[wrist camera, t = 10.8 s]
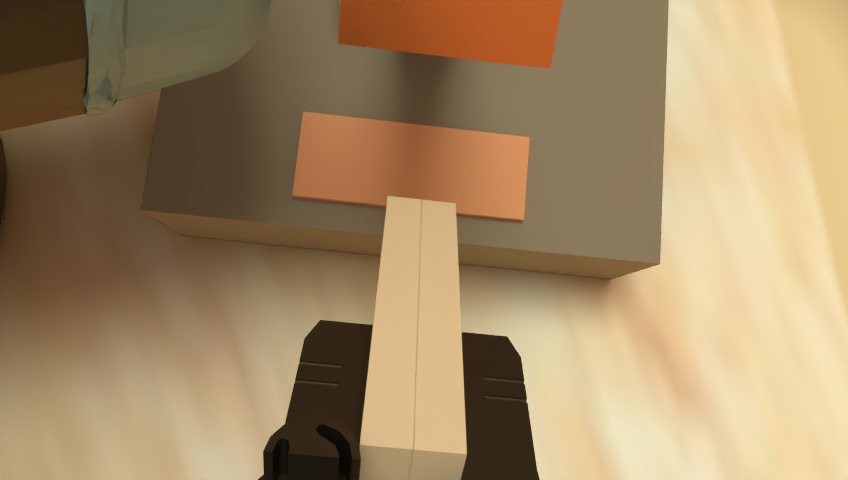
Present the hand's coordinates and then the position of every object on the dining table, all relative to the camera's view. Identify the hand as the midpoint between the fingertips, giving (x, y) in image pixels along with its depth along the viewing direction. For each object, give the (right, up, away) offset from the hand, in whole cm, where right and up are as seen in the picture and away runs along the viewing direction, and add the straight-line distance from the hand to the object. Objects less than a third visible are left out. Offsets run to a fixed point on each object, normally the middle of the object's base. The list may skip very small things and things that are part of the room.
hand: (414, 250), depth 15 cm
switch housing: (0, +8, +14) cm, 17 cm away
